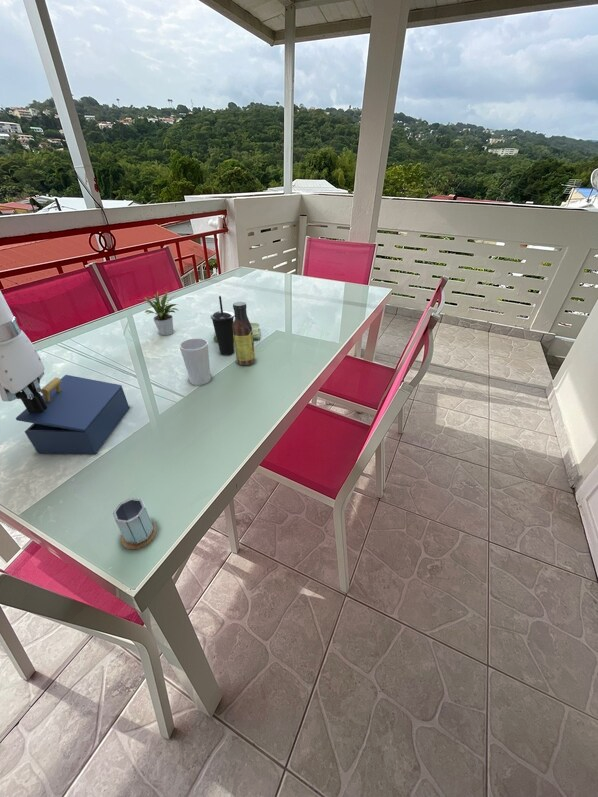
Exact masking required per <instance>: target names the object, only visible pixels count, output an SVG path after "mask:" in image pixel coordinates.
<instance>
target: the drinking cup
mask: <svg viewBox="0 0 598 797" xmlns="http://www.w3.org/2000/svg"><path fill="white" fill-rule="evenodd" d="M218 300H219V309H220V310H218V311H215V312H213V313H212V314H210V319H211V321H212V325H213V330H214V334H215V333H216V338H217V341H216V342H217V345H218V349H219V353H220V355H222V356H231V355H233V354H235V345H234V337H233V322H234V318H235V313H233V312H232V311H228V310H223V301H222V295H218Z"/></svg>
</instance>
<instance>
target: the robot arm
mask: <svg viewBox="0 0 598 797" xmlns="http://www.w3.org/2000/svg"><path fill="white" fill-rule="evenodd" d="M6 300H7V299H6V298H5V296H4V294H3V293H2V291H1V290H0V397H1V401H2V402H13V401H15V400H21V402H22V404H23V405H24V407H25V409H27V410H28V412H30V413H43V412H44V410H46V409H47V408H48V407H47V405H46V403H45V402H44V400H43V398H42V393H41V389H42V388H41V385H40V383H41V380H42V378H43V377H44V375H45V365H44V362H43V360H42V358H41V356H40V354H39V353H38V351H37V349H36V348H35V346H34V345H33V343H32V341H31V340H30V338H29V337H28V336H27V335H26V333H25V332H24V331H23V330H22V329H21V328H20V326H19V324H18V321H17V317H15V316H14V314H13V312H12V310H11V308H10V307H9V304H8V303H7V301H6Z"/></svg>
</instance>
